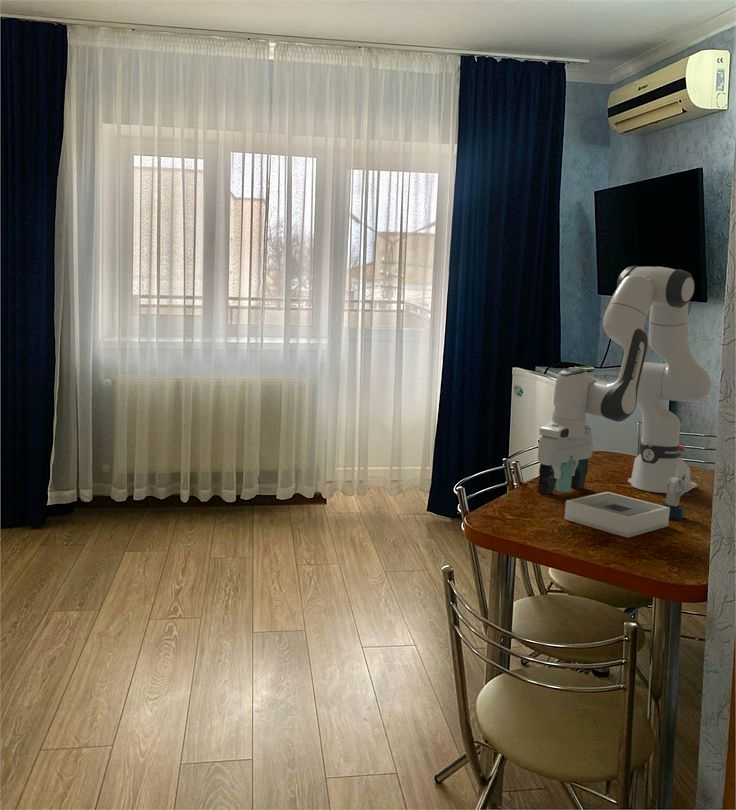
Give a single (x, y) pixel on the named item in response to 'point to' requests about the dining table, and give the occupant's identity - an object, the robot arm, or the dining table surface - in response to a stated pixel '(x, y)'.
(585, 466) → the ceramic cat
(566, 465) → the peg
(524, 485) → the dining table surface
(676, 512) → the watch
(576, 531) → the dining table surface
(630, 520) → the open box
